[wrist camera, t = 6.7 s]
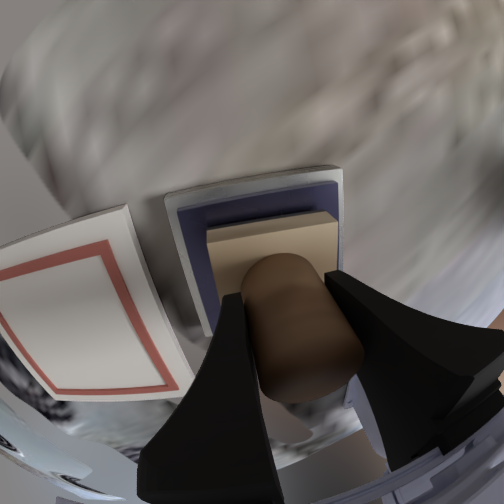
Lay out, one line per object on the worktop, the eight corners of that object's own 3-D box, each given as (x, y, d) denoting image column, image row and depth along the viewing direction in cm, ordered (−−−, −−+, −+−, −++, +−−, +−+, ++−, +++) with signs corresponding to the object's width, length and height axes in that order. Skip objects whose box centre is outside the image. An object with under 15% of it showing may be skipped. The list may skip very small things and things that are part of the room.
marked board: (199, 385, 18) (200, 396, 18) (57, 393, 17) (54, 401, 16) (126, 203, 12) (121, 210, 11) (-31, 260, 11) (-39, 267, 10)
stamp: (322, 300, 14) (373, 391, 9) (226, 319, 13) (241, 426, 8) (323, 208, 11) (406, 286, 6) (206, 227, 11) (208, 332, 6)
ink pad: (334, 296, 16) (344, 310, 15) (205, 325, 16) (206, 343, 14) (333, 164, 13) (347, 170, 11) (166, 193, 12) (162, 203, 11)
